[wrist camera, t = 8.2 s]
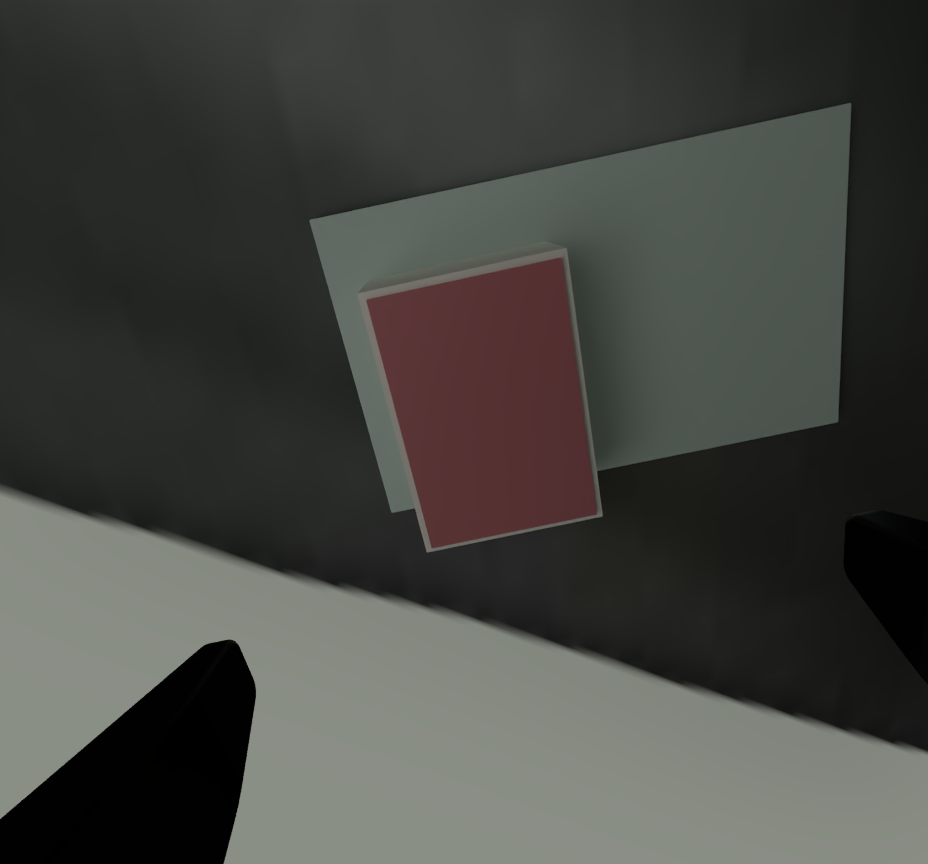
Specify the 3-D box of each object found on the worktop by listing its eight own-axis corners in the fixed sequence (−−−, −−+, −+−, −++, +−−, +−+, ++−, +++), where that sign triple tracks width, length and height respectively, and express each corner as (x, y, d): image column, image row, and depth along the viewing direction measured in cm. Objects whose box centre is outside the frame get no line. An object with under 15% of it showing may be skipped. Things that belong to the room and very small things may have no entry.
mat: (839, 105, 17) (851, 102, 17) (829, 417, 21) (838, 422, 20) (312, 220, 17) (309, 220, 17) (392, 506, 21) (391, 512, 21)
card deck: (579, 474, 20) (604, 518, 18) (427, 505, 21) (426, 555, 18) (545, 241, 18) (568, 247, 15) (368, 280, 18) (356, 294, 15)
